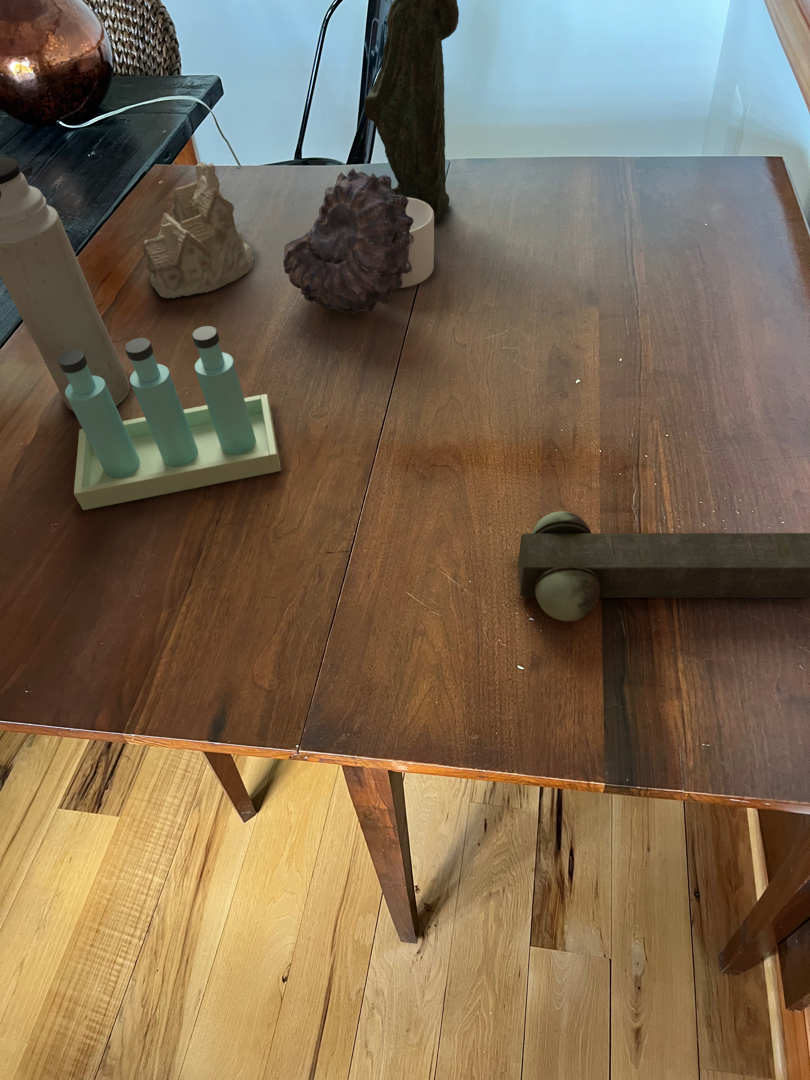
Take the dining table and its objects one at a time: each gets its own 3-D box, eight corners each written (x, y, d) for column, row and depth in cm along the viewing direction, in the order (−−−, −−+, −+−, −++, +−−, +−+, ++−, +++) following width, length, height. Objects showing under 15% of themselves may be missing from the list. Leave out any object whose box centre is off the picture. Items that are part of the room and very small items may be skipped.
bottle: (222, 458, 86) (184, 348, 75) (219, 434, 89) (183, 325, 77) (257, 451, 86) (225, 340, 75) (254, 428, 89) (223, 318, 78)
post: (826, 537, 75) (515, 537, 76) (849, 497, 70) (519, 498, 72) (867, 635, 67) (522, 633, 69) (895, 597, 63) (526, 596, 65)
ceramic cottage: (236, 225, 121) (206, 128, 109) (266, 278, 112) (237, 178, 100) (140, 257, 119) (99, 161, 107) (163, 314, 109) (120, 216, 97)
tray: (83, 510, 83) (73, 493, 81) (87, 445, 90) (79, 429, 88) (281, 471, 85) (276, 453, 83) (271, 410, 92) (266, 393, 90)
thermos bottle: (107, 365, 100) (8, 141, 78) (142, 389, 96) (49, 160, 75) (53, 397, 96) (-66, 171, 75) (88, 423, 92) (-27, 193, 71)
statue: (463, 196, 123) (462, -80, 96) (458, 226, 117) (455, -59, 90) (374, 196, 125) (348, -74, 98) (364, 226, 119) (334, -53, 92)
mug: (450, 262, 110) (449, 207, 104) (407, 298, 105) (403, 242, 99) (376, 239, 116) (371, 185, 110) (332, 271, 111) (324, 217, 105)
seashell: (326, 270, 111) (330, 355, 106) (259, 218, 102) (259, 308, 96) (435, 196, 101) (447, 286, 95) (372, 131, 91) (381, 227, 85)
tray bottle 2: (162, 469, 85) (116, 360, 74) (162, 446, 88) (117, 337, 77) (198, 462, 86) (158, 353, 75) (197, 439, 88) (157, 330, 77)
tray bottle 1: (103, 481, 85) (47, 373, 74) (104, 457, 87) (51, 349, 76) (140, 474, 85) (90, 365, 74) (140, 450, 88) (92, 341, 77)
